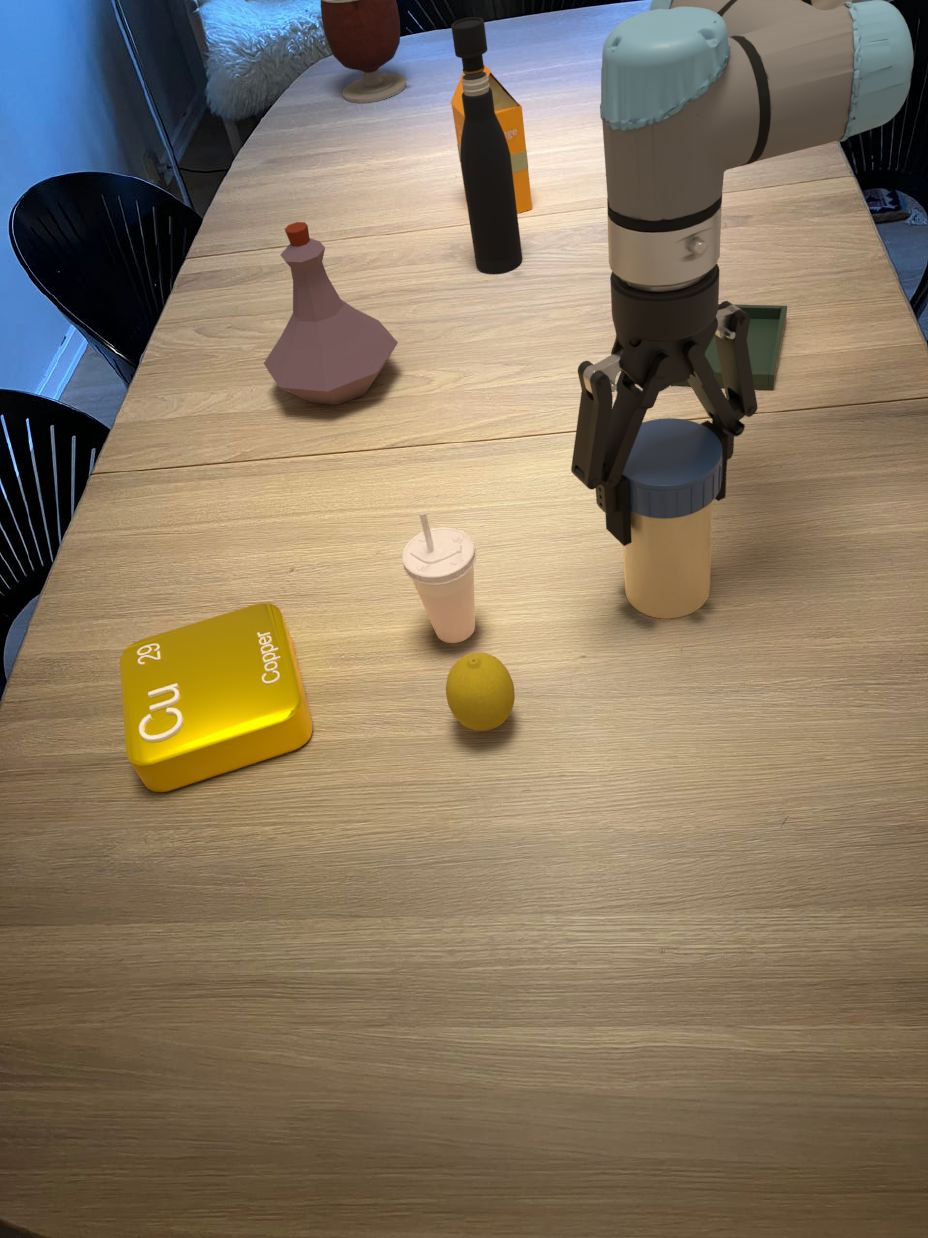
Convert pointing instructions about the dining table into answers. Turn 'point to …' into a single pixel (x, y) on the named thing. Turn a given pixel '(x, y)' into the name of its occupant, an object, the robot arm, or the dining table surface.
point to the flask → (324, 333)
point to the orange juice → (512, 128)
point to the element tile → (212, 698)
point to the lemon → (480, 691)
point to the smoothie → (444, 578)
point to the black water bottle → (485, 159)
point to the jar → (669, 563)
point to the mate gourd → (364, 44)
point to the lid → (673, 468)
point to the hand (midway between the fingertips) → (666, 513)
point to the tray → (756, 345)
